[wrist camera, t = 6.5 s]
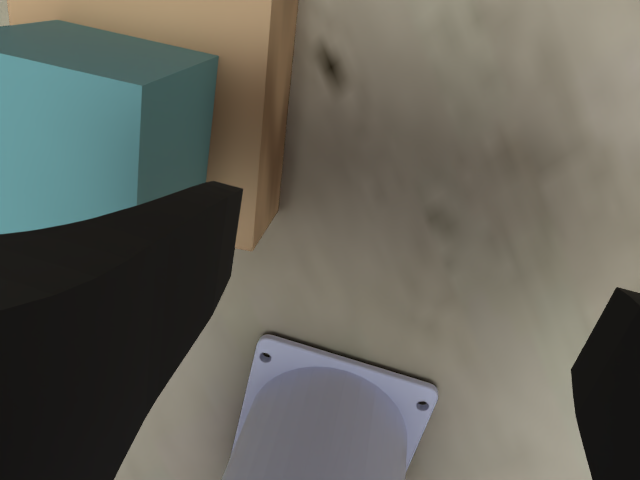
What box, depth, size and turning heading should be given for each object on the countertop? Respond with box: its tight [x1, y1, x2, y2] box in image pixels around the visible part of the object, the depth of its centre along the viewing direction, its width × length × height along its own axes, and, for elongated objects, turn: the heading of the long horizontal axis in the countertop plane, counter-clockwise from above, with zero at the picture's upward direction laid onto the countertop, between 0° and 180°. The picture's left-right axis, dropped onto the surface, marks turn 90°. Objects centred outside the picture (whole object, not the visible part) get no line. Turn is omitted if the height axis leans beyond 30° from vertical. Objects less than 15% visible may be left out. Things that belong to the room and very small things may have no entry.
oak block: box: [7, 0, 298, 251], centre depth 20 cm, size 8×8×4 cm
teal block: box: [0, 20, 219, 234], centre depth 16 cm, size 5×5×5 cm
